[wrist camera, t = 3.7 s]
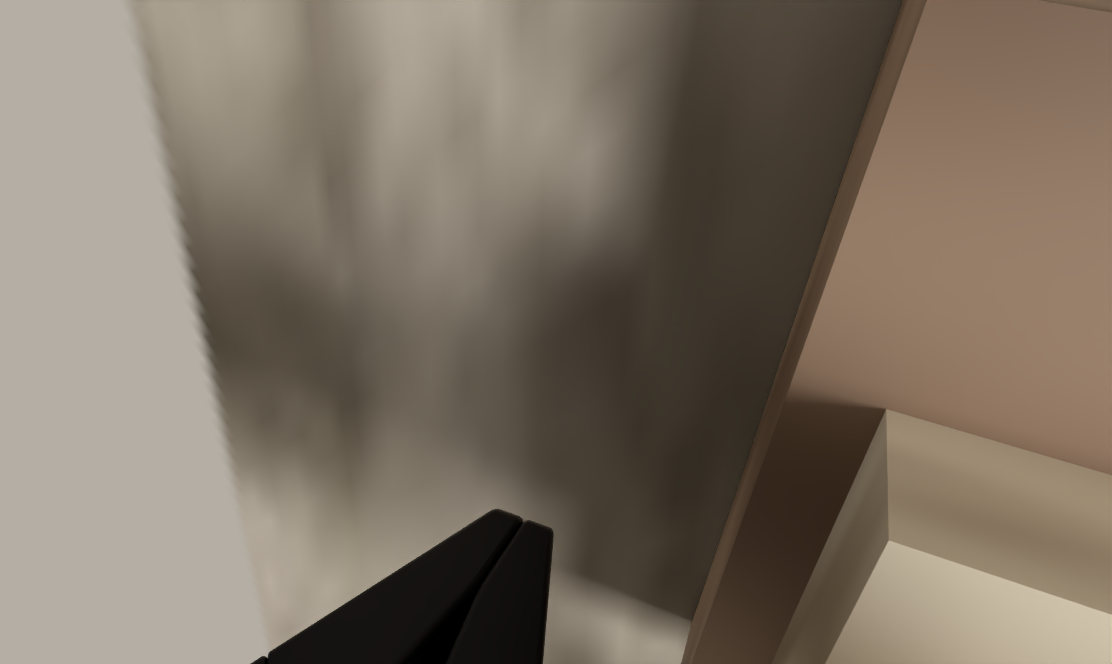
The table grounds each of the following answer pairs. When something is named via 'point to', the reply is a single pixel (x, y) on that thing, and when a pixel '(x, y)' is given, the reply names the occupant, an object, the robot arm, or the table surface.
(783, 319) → the table surface
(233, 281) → the table surface
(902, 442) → the tile
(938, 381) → the deck
